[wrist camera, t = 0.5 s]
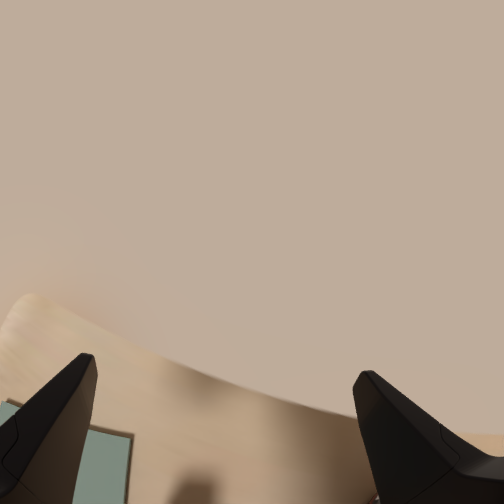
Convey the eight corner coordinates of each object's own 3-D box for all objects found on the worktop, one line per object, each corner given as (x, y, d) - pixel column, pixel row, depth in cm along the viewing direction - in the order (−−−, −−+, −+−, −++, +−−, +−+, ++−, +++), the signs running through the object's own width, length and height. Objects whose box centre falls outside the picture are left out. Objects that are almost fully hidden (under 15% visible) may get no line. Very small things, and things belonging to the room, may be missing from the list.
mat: (122, 578, 10) (121, 580, 9) (-16, 521, 9) (-19, 521, 8) (131, 440, 19) (130, 438, 18) (4, 402, 17) (2, 400, 17)
